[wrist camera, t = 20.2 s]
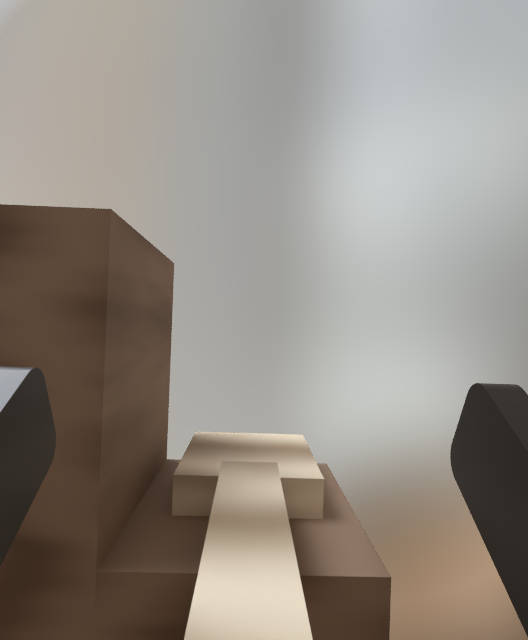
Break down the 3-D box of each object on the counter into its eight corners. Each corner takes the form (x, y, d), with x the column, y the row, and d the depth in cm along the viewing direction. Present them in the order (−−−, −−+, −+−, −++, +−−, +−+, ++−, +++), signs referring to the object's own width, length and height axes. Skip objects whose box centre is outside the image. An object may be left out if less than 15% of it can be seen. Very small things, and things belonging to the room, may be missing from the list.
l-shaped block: (471, 910, 6) (475, 740, 6) (6, 909, 6) (15, 733, 6) (301, 463, 27) (302, 424, 27) (194, 460, 27) (196, 420, 27)
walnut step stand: (-249, 1296, 14) (-191, 196, 15) (-15, 840, 27) (12, 256, 27) (369, 1281, 15) (402, 221, 15) (313, 841, 27) (333, 269, 28)
